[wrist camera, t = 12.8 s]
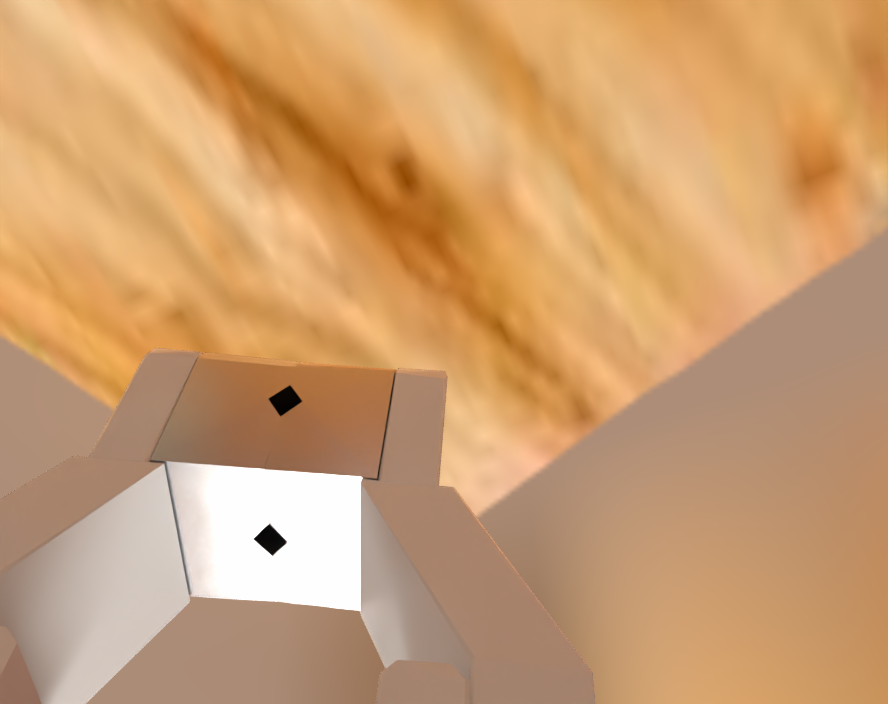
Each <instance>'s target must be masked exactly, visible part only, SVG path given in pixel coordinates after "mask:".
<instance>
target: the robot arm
mask: <svg viewBox="0 0 888 704" xmlns="http://www.w3.org/2000/svg"><path fill="white" fill-rule="evenodd" d="M446 390H447V375H446V372H445V371H437V370H419V369H401V368H398V370H394V369H381V368H368V367H355V366H342V365H328V364H315V363H301V362H297V361H287V360H278V359H268V358H258V357H249V356H239V355H229V354H219V353H210V352H205V353H201V352H195V351H184V350H173V349H163V348H155V349H153V350H152V351H150V352H149V353H147V354H146V355H145V356H144V358H143V360H142V362H141V363H140V365H139V367H138V369H137V370H136V372H135V374H134V376H133V378H132V379H131V381H130V383H129V385H128V387H127V388H126V390H125V392H124V394H123V396H122V397H121V399H120V401H119V403H118V405H117V406H116V408H115V410H114V412H113V414H112V415H111V417H110V419H109V421H108V423H107V424H106V426H105V428H104V430H103V432H102V433H101V435H100V437H99V439H98V441H97V442H96V444H95V446H94V448H93V449H92V452H91V453H90V455H89V457H80V456H72V457H70V458H69V459H67V460H66V461H64V462H62V463H60V464H59V465H57V466H55V467H54V468H52V469H50V470H48V471H47V472H45V473H44V474H42V475H40V476H38V477H37V478H35V479H33V480H32V481H30V482H28V483H27V484H25V485H23V486H21V487H20V488H18V489H17V490H15V491H13V492H11V493H10V494H8V495H6V496H5V497H3V498H1V499H0V704H85V703H87V702H88V701H89V700H90V699H91V698H92V697H93V696H94V695H95V694H96V693H97V692H98V691H99V690H100V689H101V688H102V687H103V686H104V685H105V684H106V683H107V682H108V681H109V680H110V679H111V678H112V677H113V676H114V675H115V674H116V673H117V672H119V670H121V669H122V668H123V667H124V666H125V664H126V663H128V662H129V661H130V660H131V659H132V658H133V657H134V656H135V655H136V654H137V653H138V652H139V651H140V650H141V649H142V648H143V647H144V646H145V645H146V644H147V643H148V642H149V641H150V640H151V639H152V638H153V637H154V636H155V635H156V634H157V633H158V632H159V631H160V630H161V629H162V628H164V626H166V625H167V623H169V622H170V620H172V619H173V618H174V617H175V616H176V615H177V614H178V613H179V612H180V611H181V610H182V609H183V608H184V607H185V606H186V605H187V604H188V603H189V602H190V598H189V596H191V597H209V598H229V599H245V600H263V601H276V600H277V601H278V602H287V603H297V604H306V605H315V606H324V607H333V608H342V609H351V610H360V613H361V614H360V615H361V617H362V619H363V621H364V623H365V626H366V628H367V630H368V632H369V634H370V636H371V638H372V641H373V643H374V645H375V647H376V649H377V651H378V654H379V656H380V658H381V660H382V662H383V664H384V667H385V670H384V671H382V672H381V673H380V676H379V684H378V690H377V697H376V704H595V694H594V684H593V673H592V671H591V670H590V669H589V667H588V666H587V665H586V663H585V662H584V661H583V659H582V658H581V657H580V655H579V654H578V653H577V651H576V650H575V649H574V647H573V646H572V645H571V643H570V642H569V640H568V639H567V638H566V636H565V635H564V634H563V632H562V631H561V630H560V629H559V627H558V626H557V625H556V623H555V622H554V621H553V619H552V618H551V616H550V615H549V614H548V612H547V611H546V610H545V608H544V607H543V606H542V605H541V603H540V602H539V600H538V599H537V598H536V596H535V595H534V594H533V592H532V591H531V590H530V588H529V587H528V586H527V584H526V583H525V582H524V580H523V579H522V578H521V576H520V575H519V574H518V572H517V571H516V570H515V568H514V567H513V566H512V564H511V563H510V562H509V560H508V559H507V558H506V556H505V555H504V554H503V553H502V551H501V550H500V548H499V547H498V546H497V544H496V543H495V542H494V540H493V539H492V538H491V536H490V535H489V534H488V532H487V531H486V529H485V528H484V527H483V525H482V524H481V523H480V521H479V520H478V519H477V517H476V516H475V515H474V513H473V512H472V511H471V509H470V508H469V507H468V505H467V504H466V503H465V501H464V500H463V499H462V497H461V496H460V495H459V493H458V492H457V491H456V489H455V488H454V487H446V486H439V478H440V465H441V453H442V440H443V428H444V415H445V402H446Z"/></svg>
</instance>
